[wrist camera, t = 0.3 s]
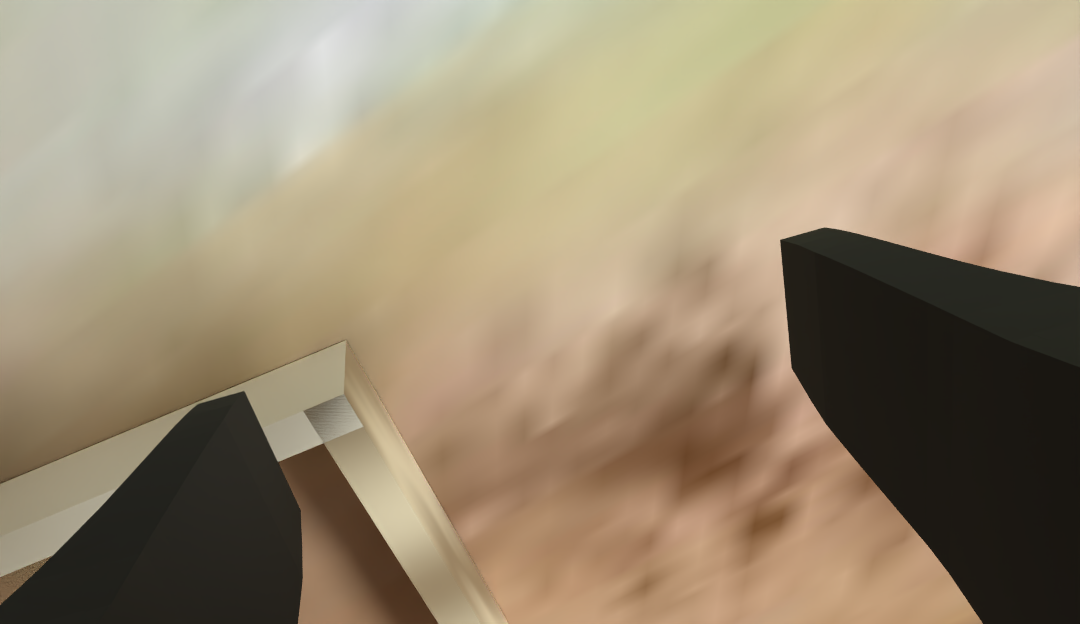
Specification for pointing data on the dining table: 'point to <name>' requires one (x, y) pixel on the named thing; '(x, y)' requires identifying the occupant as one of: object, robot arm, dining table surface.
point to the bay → (290, 427)
